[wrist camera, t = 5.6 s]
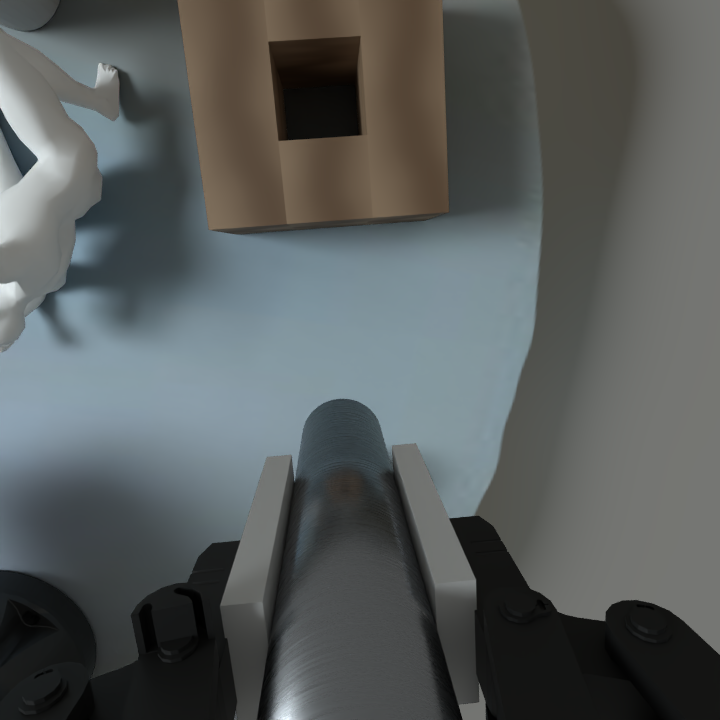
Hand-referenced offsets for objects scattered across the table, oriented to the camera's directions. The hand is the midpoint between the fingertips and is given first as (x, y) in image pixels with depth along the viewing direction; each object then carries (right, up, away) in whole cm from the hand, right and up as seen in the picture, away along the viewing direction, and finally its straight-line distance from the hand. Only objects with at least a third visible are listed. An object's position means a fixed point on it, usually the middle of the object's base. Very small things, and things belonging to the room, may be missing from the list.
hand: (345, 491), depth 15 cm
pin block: (-2, +21, +19) cm, 29 cm away
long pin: (0, +1, +4) cm, 5 cm away
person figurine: (-21, +15, +20) cm, 32 cm away
